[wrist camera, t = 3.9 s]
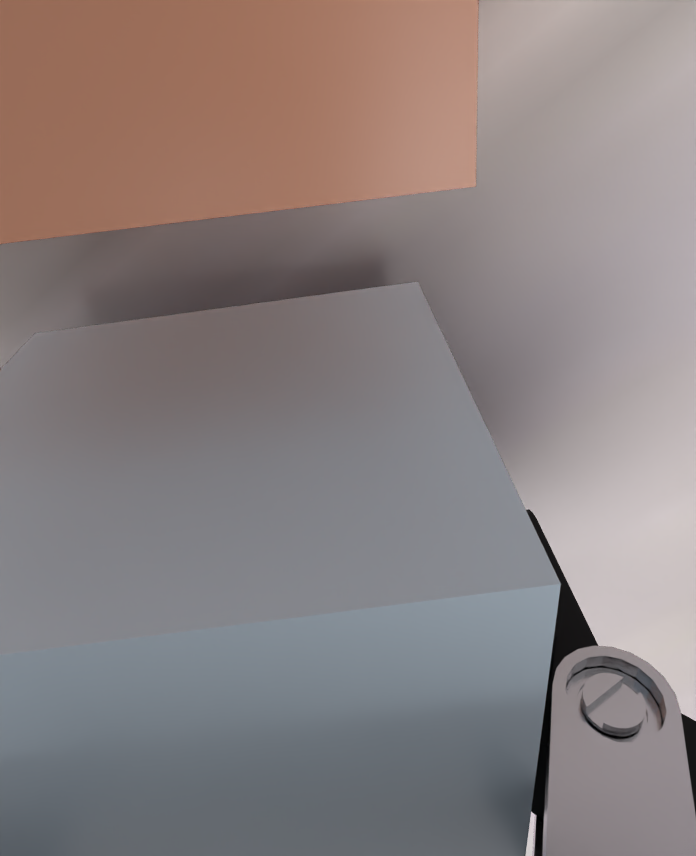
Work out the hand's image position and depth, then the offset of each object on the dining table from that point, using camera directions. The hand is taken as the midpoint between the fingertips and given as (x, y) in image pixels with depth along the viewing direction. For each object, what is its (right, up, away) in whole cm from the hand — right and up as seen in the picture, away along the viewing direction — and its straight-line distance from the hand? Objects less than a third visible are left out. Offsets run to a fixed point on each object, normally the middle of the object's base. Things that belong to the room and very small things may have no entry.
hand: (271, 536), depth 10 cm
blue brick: (0, +1, +1) cm, 1 cm away
